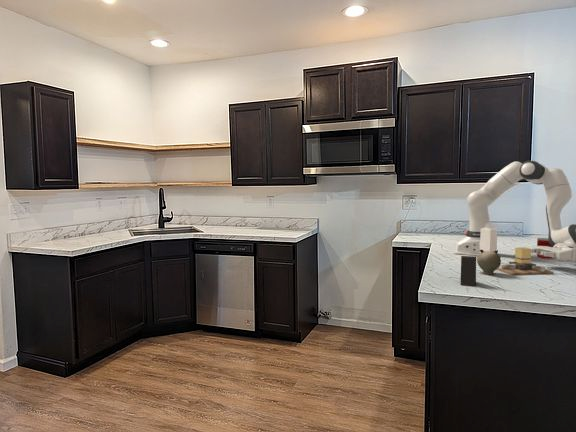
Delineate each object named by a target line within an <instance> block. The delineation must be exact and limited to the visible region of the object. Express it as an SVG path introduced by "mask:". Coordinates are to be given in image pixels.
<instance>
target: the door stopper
mask: <svg viewBox="0 0 576 432" xmlns="http://www.w3.org/2000/svg"><path fill="white" fill-rule="evenodd" d="M460 258H461V260H460V286H470V287H477V256H474V255H461V257H460Z"/></svg>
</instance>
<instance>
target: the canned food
mask: <svg viewBox="0 0 576 432" xmlns="http://www.w3.org/2000/svg"><path fill="white" fill-rule="evenodd" d="M536 246H548V247H553V246H552V245H551V244H550V243H549V240H548V237H538V238H537V240H536ZM536 257H537V258H540V259H554V258H553V257H548V256H542V255H540V254H536Z"/></svg>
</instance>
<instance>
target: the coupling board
mask: <svg viewBox="0 0 576 432" xmlns="http://www.w3.org/2000/svg"><path fill="white" fill-rule="evenodd" d="M498 270H499V271H498ZM495 271H498V272H502V273H505V274H507V275H511V276H525V275H526V276H528V275H527V274H534V275H553V274H554V271H552V270H548V269H546V267H545V266H541V265H540V266H539V265H537V263H534V262H533V263H532V262H531V264H522V265H521V264H517V263H515V261H509V262H508V263H504V264H503V263H502V264H500V267H499V268H497V269H496V270H495Z"/></svg>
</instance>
